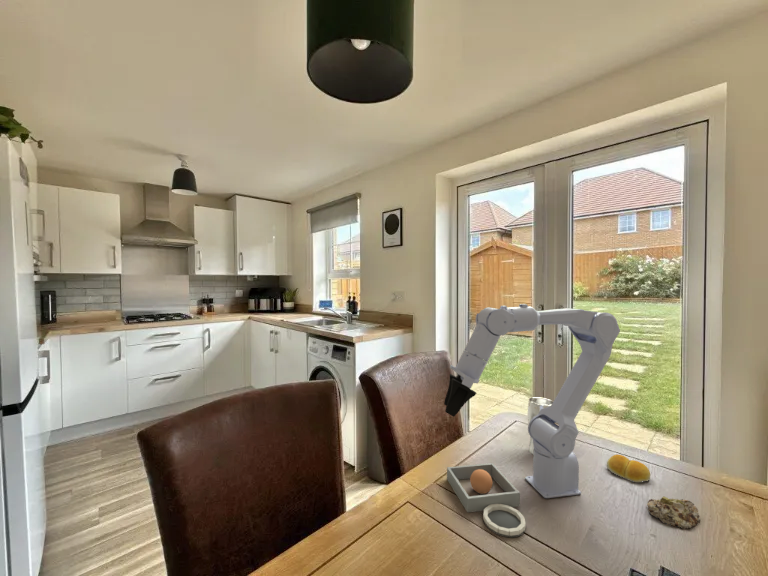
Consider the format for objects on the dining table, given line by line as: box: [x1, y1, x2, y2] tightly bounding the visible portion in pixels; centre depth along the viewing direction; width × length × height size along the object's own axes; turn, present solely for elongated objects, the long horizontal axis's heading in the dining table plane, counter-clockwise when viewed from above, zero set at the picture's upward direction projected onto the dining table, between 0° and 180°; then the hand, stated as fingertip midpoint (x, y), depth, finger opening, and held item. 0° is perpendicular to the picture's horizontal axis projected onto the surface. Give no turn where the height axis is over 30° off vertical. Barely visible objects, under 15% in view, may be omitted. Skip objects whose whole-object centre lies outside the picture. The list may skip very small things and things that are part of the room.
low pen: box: [446, 462, 521, 513], centre depth 80 cm, size 12×12×3 cm
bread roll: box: [606, 454, 651, 483], centre depth 88 cm, size 8×9×4 cm
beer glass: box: [527, 396, 554, 455], centre depth 98 cm, size 7×7×15 cm
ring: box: [482, 504, 526, 538], centre depth 70 cm, size 8×8×1 cm
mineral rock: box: [646, 496, 701, 529], centre depth 73 cm, size 11×4×8 cm
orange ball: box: [469, 469, 493, 495], centre depth 80 cm, size 5×5×5 cm
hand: (448, 410), depth 78 cm, fingers open, 7 cm apart
